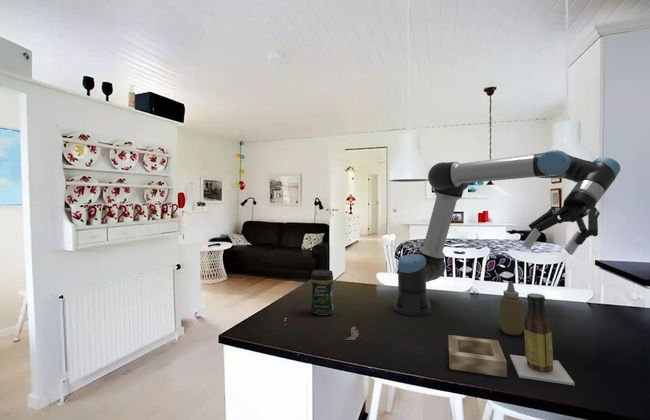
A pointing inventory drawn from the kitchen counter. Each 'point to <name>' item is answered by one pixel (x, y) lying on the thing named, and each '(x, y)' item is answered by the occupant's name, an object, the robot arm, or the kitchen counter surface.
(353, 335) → the jawbone
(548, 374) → the grey mat
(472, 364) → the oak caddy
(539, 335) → the sauce bottle
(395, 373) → the kitchen counter surface
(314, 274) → the coffee jar
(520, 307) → the squeeze bottle
